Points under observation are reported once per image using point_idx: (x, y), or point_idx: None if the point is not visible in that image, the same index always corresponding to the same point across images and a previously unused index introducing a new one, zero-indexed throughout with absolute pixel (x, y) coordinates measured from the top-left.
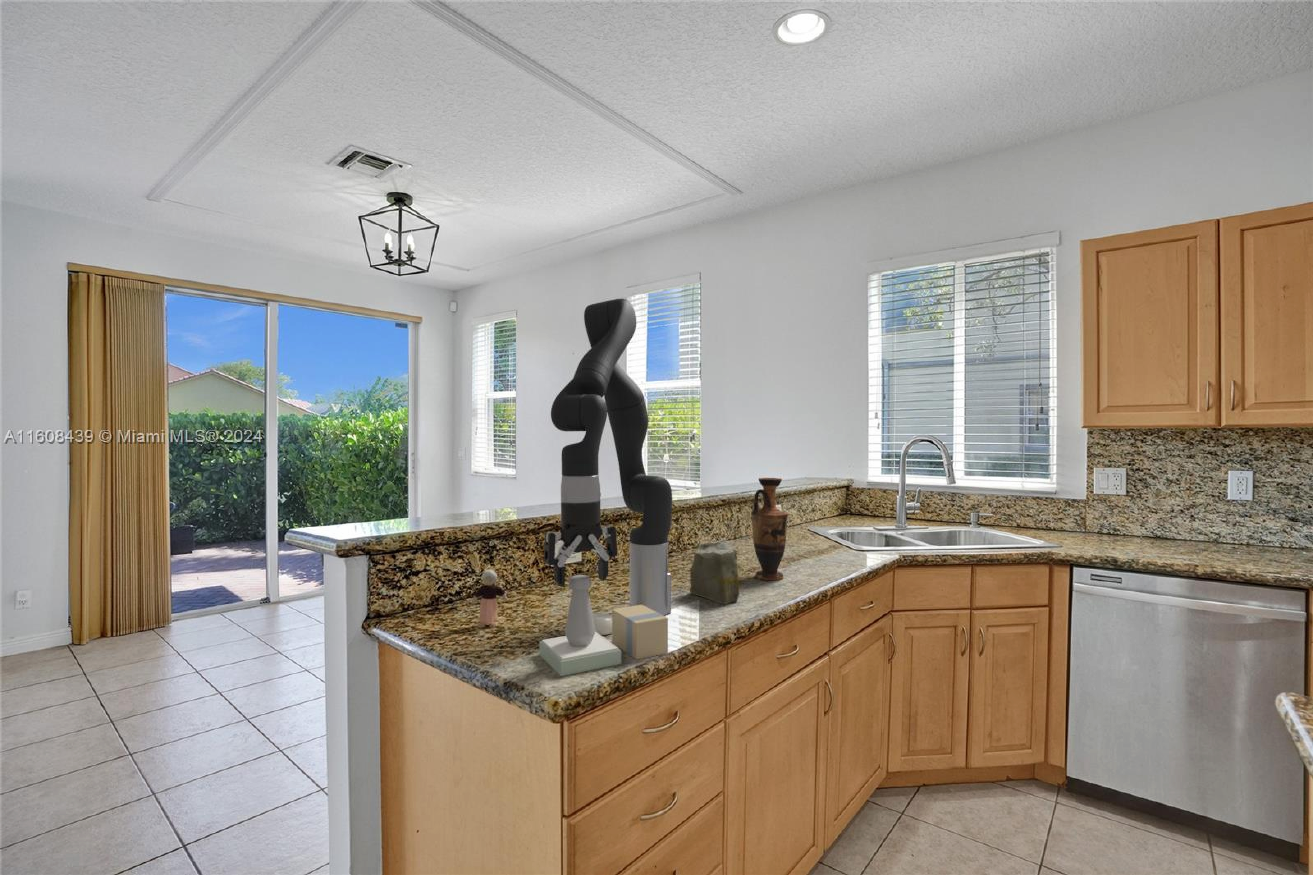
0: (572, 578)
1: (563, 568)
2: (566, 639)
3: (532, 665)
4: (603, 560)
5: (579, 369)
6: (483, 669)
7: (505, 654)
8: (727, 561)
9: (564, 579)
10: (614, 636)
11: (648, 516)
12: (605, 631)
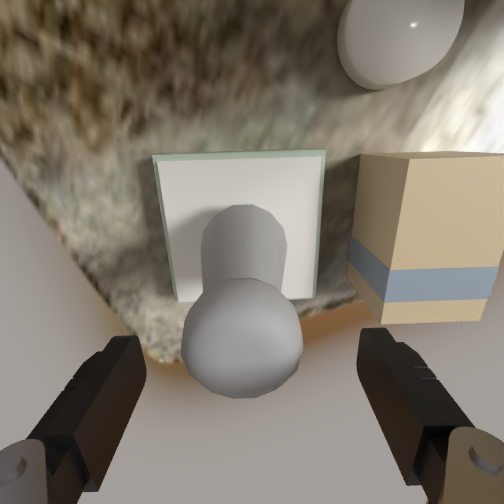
0: (192, 369)
1: (92, 483)
2: (221, 190)
3: (136, 211)
4: (427, 484)
5: None
6: (24, 183)
7: (75, 103)
8: None
9: (131, 410)
10: (367, 171)
11: None
12: (380, 88)
